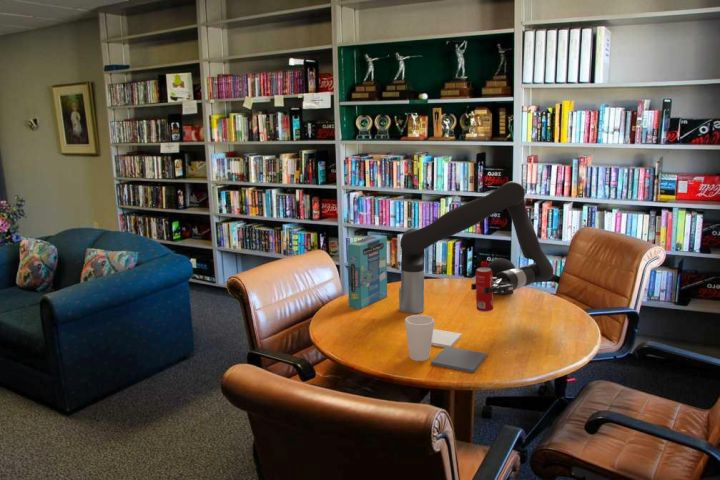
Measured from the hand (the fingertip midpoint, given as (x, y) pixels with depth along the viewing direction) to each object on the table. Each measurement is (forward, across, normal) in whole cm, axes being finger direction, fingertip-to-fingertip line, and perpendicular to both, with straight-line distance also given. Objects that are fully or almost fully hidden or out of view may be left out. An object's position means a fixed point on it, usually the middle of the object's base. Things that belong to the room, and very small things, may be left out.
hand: (478, 288), depth 203 cm
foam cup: (+26, -1, +19) cm, 32 cm away
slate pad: (+18, +9, +18) cm, 27 cm away
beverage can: (-3, 0, +8) cm, 9 cm away
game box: (+4, -58, +19) cm, 61 cm away
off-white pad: (+10, -8, +19) cm, 23 cm away
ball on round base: (-50, -32, +19) cm, 62 cm away
